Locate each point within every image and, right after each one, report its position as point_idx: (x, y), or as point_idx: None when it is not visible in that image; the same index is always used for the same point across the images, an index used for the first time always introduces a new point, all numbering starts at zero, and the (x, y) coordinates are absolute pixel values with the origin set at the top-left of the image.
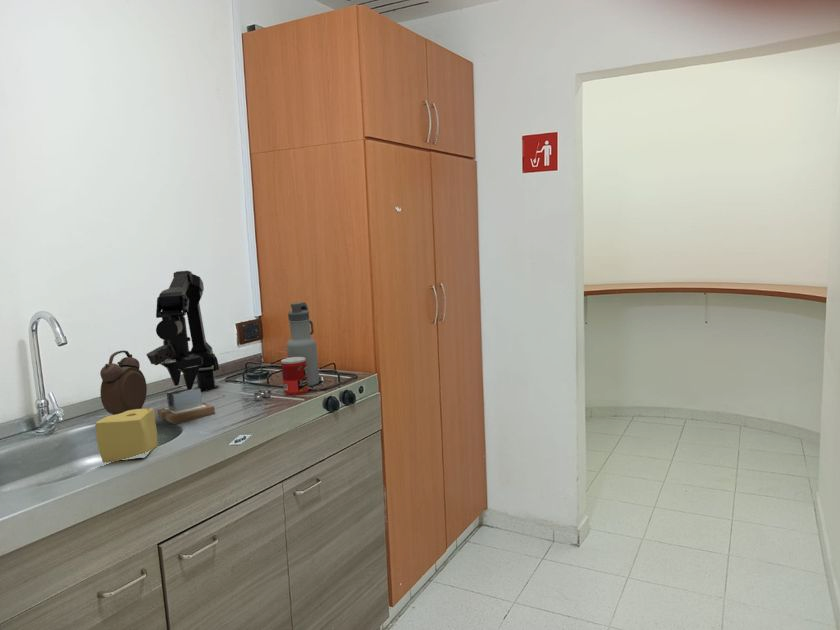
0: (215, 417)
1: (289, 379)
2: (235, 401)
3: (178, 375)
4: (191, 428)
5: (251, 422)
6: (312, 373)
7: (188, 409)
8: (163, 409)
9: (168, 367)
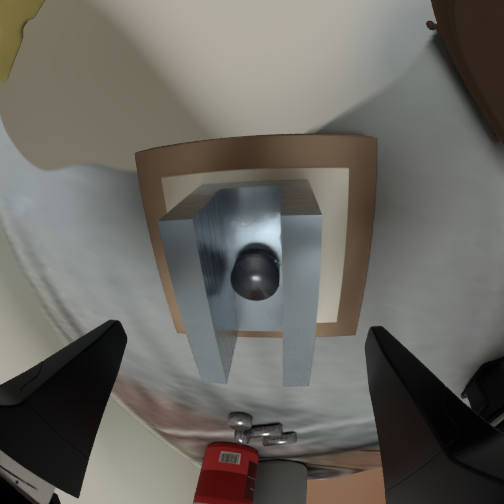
0: (135, 292)
1: (209, 472)
2: (288, 395)
3: (382, 420)
4: (63, 187)
5: (48, 313)
6: None
7: None
8: (349, 163)
9: (455, 474)
